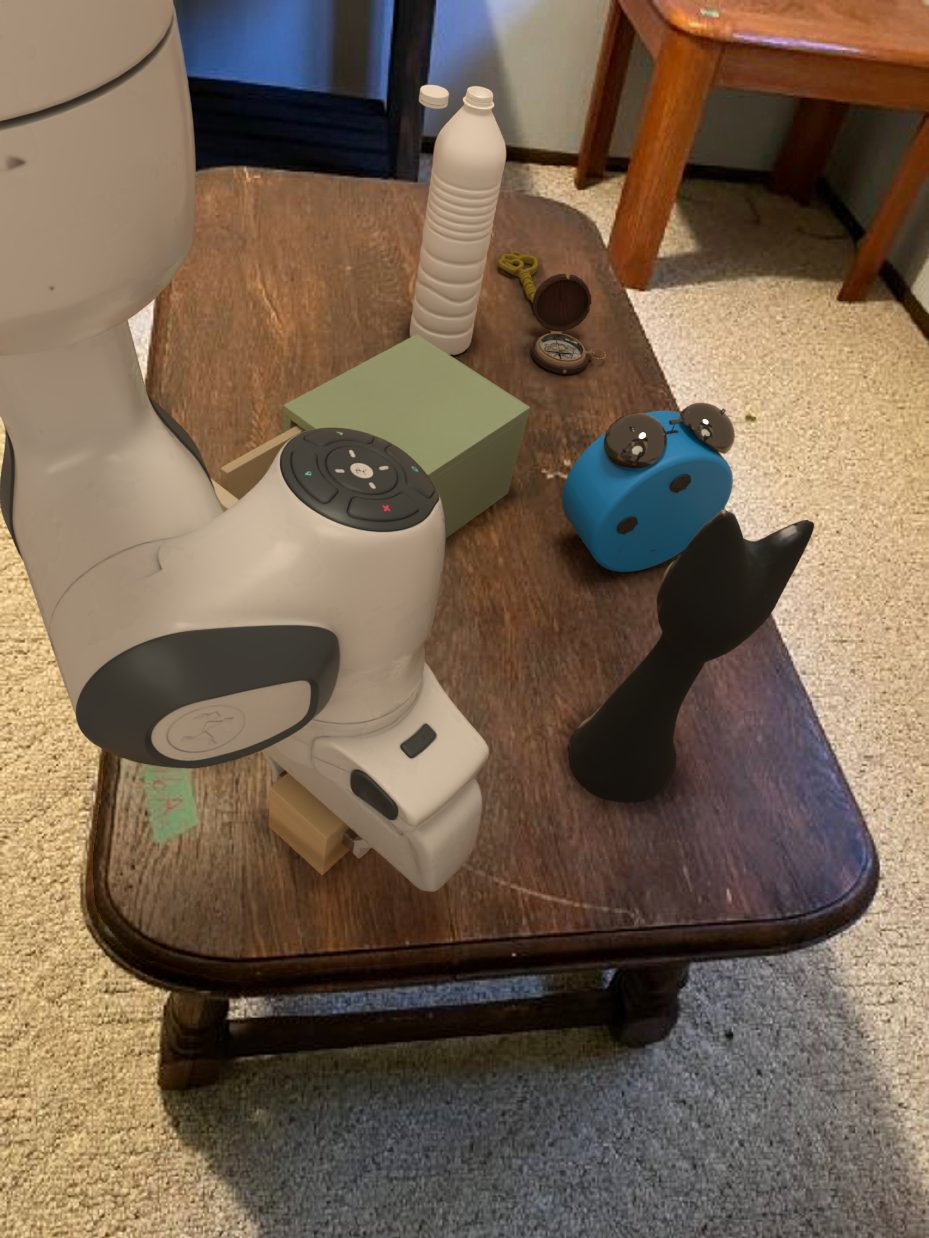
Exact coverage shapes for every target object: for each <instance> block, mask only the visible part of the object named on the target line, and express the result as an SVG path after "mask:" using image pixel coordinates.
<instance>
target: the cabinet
mask: <svg viewBox="0 0 929 1238" xmlns="http://www.w3.org/2000/svg"><path fill="white" fill-rule="evenodd" d="M530 410H531V406H529V405H528V404H526V403H525V402H523V401H521V400H520V399H518V398H516V397H515V396H513V395H512V394H510V393H509V392H507V391H506V390H504V389H503V388H502V387H500V386H498V385H497V384H495V383H493V382H492V381H490V380H489V379H487V378H485V377H484V376H483V375H481V374H480V373H478V372H476V371H475V370H474V369H472V368H471V367H468V366H467V365H466V364H464V363H463V362H461V361H460V360H458V359H457V358H455V357H453V355H448V354H447V353H445V352H444V351H442V350H441V349H439V348H438V347H436V346H434V345H433V344H431V343H430V342H428V341H427V340H425V339H424V338H422V337H421V336H419V335H417V334H416V335H414V336H412V337H410V336H409V337H408V338H406V339H405V340H403V341H400V342H399V343H397V344H395V345H393V346H392V347H390V348H388V349H386V350H384V351H382V352H380V353H378V354H377V355H375V356H373V357H371V358H369V359H367V360H365V361H364V362H362V363H359V364H358V365H356V366H354V367H352V368H350V369H348V370H347V371H345V372H343V373H341V374H339V375H337V376H335V377H333V378H331V379H330V380H327V381H326V382H324V383H322V384H320V385H318V386H317V387H315V388H313V389H311V390H308V391H307V392H305V393H303V394H302V395H300V396H297V397H296V398H294V399H292V400H290V401H288V402H287V403H285V404H283V405H282V429H281V430H282V433H284V432H286V431H288V430H290V429H291V428H293V427H295V426H297V425H299V426H300V427H302V428H303V429H304V430H306V431H308V430H312V429H317V428H329V427H334V428H347V429H353V430H357V431H362V432H365V433H369V434H372V435H374V436H377V437H380V438H382V439H384V440H386V441H388V442H390V443H392V444H394V445H395V446H397V447H399V448H400V449H401V450H403V451H404V452H405V453H407V454H408V455H409V456H410V457H411V458H413V459H414V460H415V461H416V462H417V463H418V464H419V465H420V467H421V468H422V469H423V470H424V471H425V472H426V474H427V475H428V476H429V478H430V479H431V481H432V482H433V484H434V485H435V487H436V489H437V491H438V493H439V495H440V498H441V501H442V506H443V511H444V519H445V540H446V539H448V538H449V537H450V536H452V535H453V534H454V533H457V531H458V530H460V529H461V528H463V527H464V526H465V525H467V524H468V523H470V522H471V521H472V520H473V519H475V518H477V517H478V516H479V515H481V514H482V513H483V512H485V511H486V510H487V509H489V508H491V506H493V505H494V504H496V503H497V502H498V501H500V500H501V499H502V498H504V497H505V496H507V495H508V494H509V491H510V488H511V484H512V480H513V475H514V472H515V468H516V464H517V460H518V456H519V453H520V449H521V445H522V441H523V438H524V433H525V429H526V426H527V423H528V422H527V421H528V418H529V414H530ZM282 433H281V434H282Z"/></svg>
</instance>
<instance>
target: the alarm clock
mask: <svg viewBox="0 0 929 1238" xmlns="http://www.w3.org/2000/svg"><path fill="white" fill-rule="evenodd" d="M726 412H727V410H726V409H725V408H722V409H720V407H718V406H716V405H713V404H711V403H707V402H695V403H694V402H693V403H691V404H689V405H687V406H685V407H684V408H683V409H682V410H681V412H678V411H672V410H654V411H648V412H644V413H641V412H633V413H631V412H630V413H628V414H624V415H622V416H620V417H619V418H617V419H616V420H614V421H613V422H612V424H610V425H609V427H608V428H607V430H606V431H605V432H603V433H602V434H601V435H600V436H599V437H597V438H596V439H595V440H594V441H593V442H592V443H590V445H589V446H588V447H587V448H586V449H585V450H584V451H583V452H582V453H581V454H580V456H579V457H578V459H577V460H576V461H575V463H574V464H573V465H572V467H571V469H570V471H569V473H568V474H567V477H566V480H565V482H564V485H563V488H562V495H561V504H562V509H563V512H564V515H565V518H566V519H567V520H568V522H569V523H570V524H571V526H572V528H573V529H574V531H575V532H576V533H577V535H578V537H579V538H578V541H579V542H583V544H584V545H585V547H586V548H587V550H588V551H589V553H590V554H591V556H592V558H593V559H594V560H595V562H597V563H598V565H600V566H601V567H602V568H604V569H606V570H609V571H612V572H617V573H633V572H637V571H638V572H639V571H641V570H642V571H643V570H646V569H649V568H652V567H655V566H658V565H661V564H662V563H664V562H667V561H669V560H671V559H672V558H674V557H677V556H679V554H682V553H683V552H684V550H685V549H686V547H687V546H688V544H689V543H690V541H691V540H692V539H693V538H694V537H695V535H696V534H697V533H698V532H699V531H700V530H701V528H702V527H703V526H704V525H705V524H706V523H707V522H709V521H710V520H711V519H712V518H713V517H715V516H716V515H717V514H718V513H719V512H720V511H721V510H724V509H725V508H726V506H727V505H728V502H729V500H730V497H731V495H732V490H733V485H734V484H733V483H734V476H733V471H732V468H731V466H730V464H729V462H728V461H727V460H726V459H725V458H724V456H723V455H725V454H728V453H729V452H730V450H731V449H732V447H733V446H734V443H735V440H736V439H735V438H736V433H735V427H734V425H733V422H732V420H731V419H730V417H729V416H728V415H727V414H726ZM722 454H723V455H722Z"/></svg>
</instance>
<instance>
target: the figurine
mask: <svg viewBox="0 0 929 1238" xmlns="http://www.w3.org/2000/svg"><path fill="white" fill-rule="evenodd" d="M814 529H815V522H813V521H812V520H809V519H803V520H800V521H796V522H794V523H791V524H789V525H787V526H785V527H782V528H780V529H778V530H776V531H774V532H772V533H770V534H768V535H766V536H765V537H762V538H760V539H758V540H748V539H746V538H744V535H743V531H742V529H741V526H740V523H739V521H738V519H737V517H736V515H735V513H734V512H732V511H729V510H726V509H725V508H724V510H721V511H720V512H719V513H718V514H717V515H716V516H715V517H713V518H712V519H711V520H710V521H709V522H707V523H706V524H705V525H704V526H703V527H702V528H701V530H700V531H699V532H698V533H697V534H696V535H695V537H694V538H693V539H692V540H691V541H690V543H689V544H688V546H687V547H686V549H685V550H684V551H682V552H681V553H680V555H678V557H676V559H675V560H674V561H672V562H671V563H670V564H669V565H668V566H667V568H666V569H665V571H664V572H663V574H662V577H661V580H660V583H659V589H658V592H657V595H656V613H657V614H656V615H657V619H658V624H659V627H660V630H661V635H660V637H659V638H658V641H657V642H656V643H655V645H654V646H653V647H652V648H651V650H649V652H648V653H647V654H646V655H645V657H644V658H643V659H642V660H641V662H639V663H638V665H637V666H636V667H635V668H634V669H633V670H632V672H630V674H629V675H628V676H627V677H626V678H625V679H624V680H623V682H622V683H621V684H620V685H619V686H618V687H617V688H616V689H615V690H614V692H612V694H611V695H609V697H608V698H607V699H606V700H605V702H604V703H603V704H601V706H600V707H599V708H598V709H597V710H596V711H594V712H593V714H591V716H589V717H587V718H585V719H584V720H583V721H582V722H581V723H580V724H579V726H578V728H577V729H576V730H575V731H574V732H573V734H572V735H571V736H570V738H569V740H568V747H569V750H570V752H569V766H570V769H571V772H572V774H573V775H574V777H575V778H576V780H577V781H578V782H579V784H581V786H583V787H584V789H586V790H587V791H588V792H590V793H591V794H593V795H595V796H597V797H599V798H602V799H604V800H609V801H613V802H618V803H638V802H644V801H647V800H650V799H652V798H654V797H656V796H657V795H659V794H660V793H661V792H662V791H663V790H665V788H666V787H667V786H668V784H669V782H670V781H671V779H672V777H673V775H674V774H675V771H676V768H677V760H678V759H677V758H678V757H677V755H678V754H677V750H676V746H675V743H674V737H675V730H676V725H677V719H678V717H679V713H680V710H681V707H682V705H683V702H684V700H685V698H686V696H687V695H688V693H689V691H690V689H691V688H692V687H693V685H694V682H695V681H696V679H697V678H698V676H699V675H700V673H701V671H702V669H703V667H704V665H705V664H706V663H707V662H709V661H713V660H715V659H718V658H721V657H723V656H724V655H727V654H729V653H730V652H731V651H733V650H735V649H737V648H738V647H739V646H740V645H741V644H743V643H744V642H745V641H747V640H748V639H749V638H750V637H751V636H752V635H753V634H754V633H755V632H757V630H758V629H759V628H761V626H763V625H764V623H766V621H767V620H768V619H769V618H770V616H771V615H772V613H773V612H774V610H775V608H776V606H777V604H778V602H779V601H780V598H781V596H782V595H783V593H784V590H785V589H786V587H787V586H788V583H789V582H790V579H791V577H792V576H793V574H794V572H795V570H796V568H797V566H798V564H799V562H800V560H801V559H802V557H803V555H804V553H805V550H806V549H807V547H808V544H809V542H810V540H811V539H812V538H811V537H812V535H813V534H814Z"/></svg>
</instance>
